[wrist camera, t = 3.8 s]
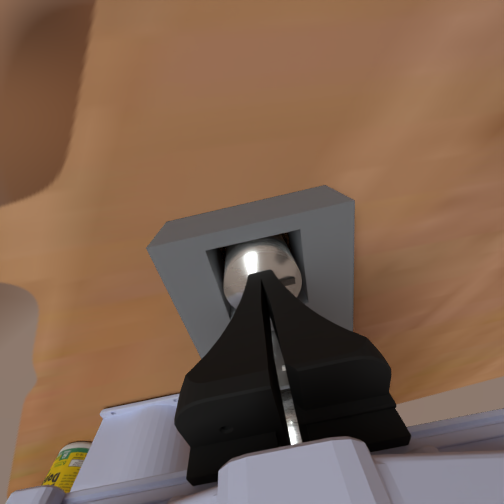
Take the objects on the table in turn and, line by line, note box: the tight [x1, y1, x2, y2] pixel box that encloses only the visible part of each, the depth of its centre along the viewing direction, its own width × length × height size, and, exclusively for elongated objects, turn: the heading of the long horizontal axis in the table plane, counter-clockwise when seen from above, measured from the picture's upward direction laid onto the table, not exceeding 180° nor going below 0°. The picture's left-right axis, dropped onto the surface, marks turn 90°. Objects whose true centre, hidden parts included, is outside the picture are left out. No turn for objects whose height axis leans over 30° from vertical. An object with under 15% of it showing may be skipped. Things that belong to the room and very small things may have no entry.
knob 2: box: [280, 388, 302, 445], centre depth 18 cm, size 4×4×4 cm
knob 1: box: [224, 234, 302, 309], centre depth 14 cm, size 4×4×4 cm
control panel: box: [146, 185, 355, 390], centre depth 18 cm, size 11×21×4 cm, turn 12°
